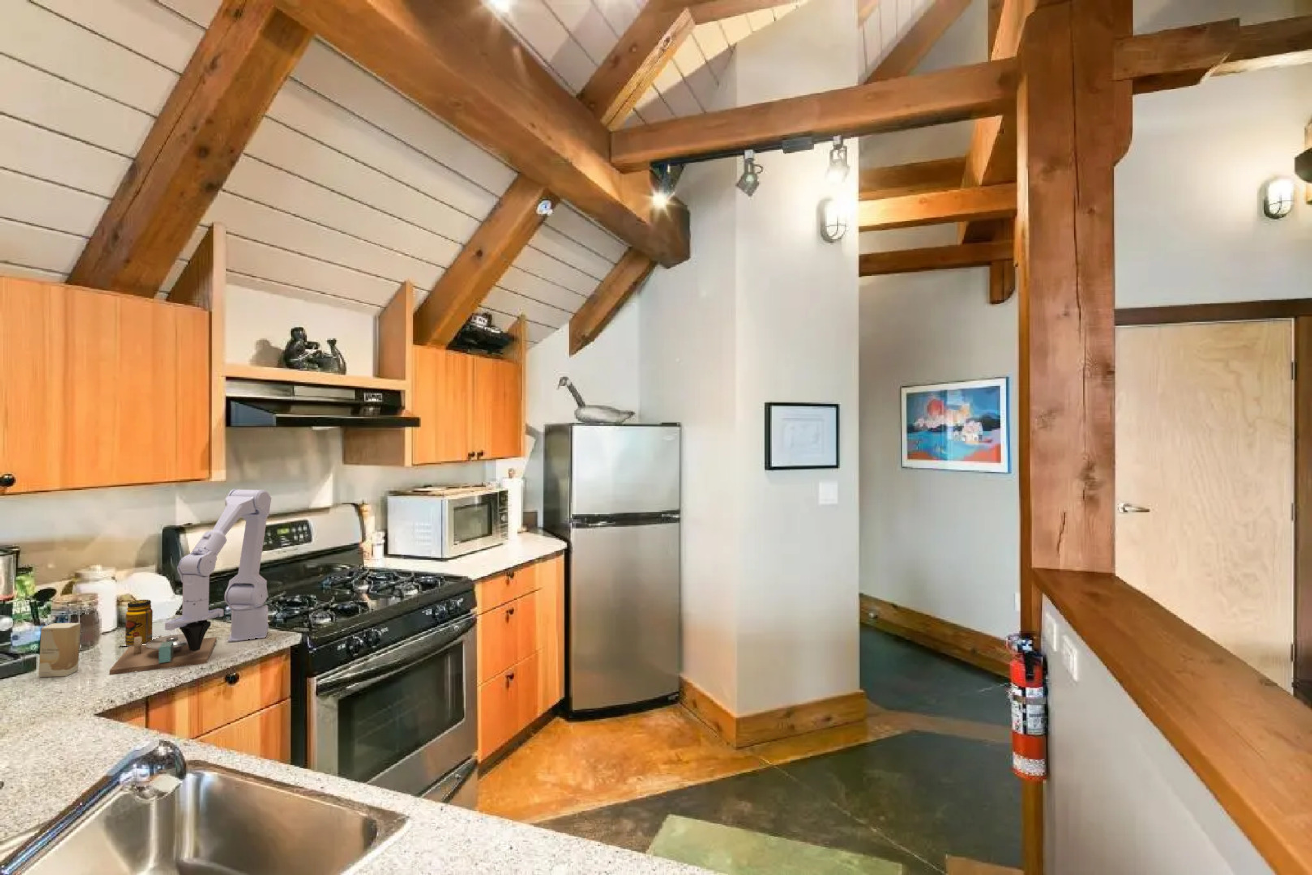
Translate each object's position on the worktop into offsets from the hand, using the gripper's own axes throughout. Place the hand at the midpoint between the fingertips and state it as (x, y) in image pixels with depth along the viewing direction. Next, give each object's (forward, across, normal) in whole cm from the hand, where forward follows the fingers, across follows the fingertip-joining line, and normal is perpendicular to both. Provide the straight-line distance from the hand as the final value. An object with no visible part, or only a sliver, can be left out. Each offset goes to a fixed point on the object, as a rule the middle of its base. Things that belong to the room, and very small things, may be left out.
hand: (194, 649), depth 171 cm
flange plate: (+1, -2, +7) cm, 7 cm away
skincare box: (+3, -18, +21) cm, 28 cm away
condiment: (+3, +6, +28) cm, 29 cm away
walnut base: (+3, 0, +8) cm, 9 cm away
